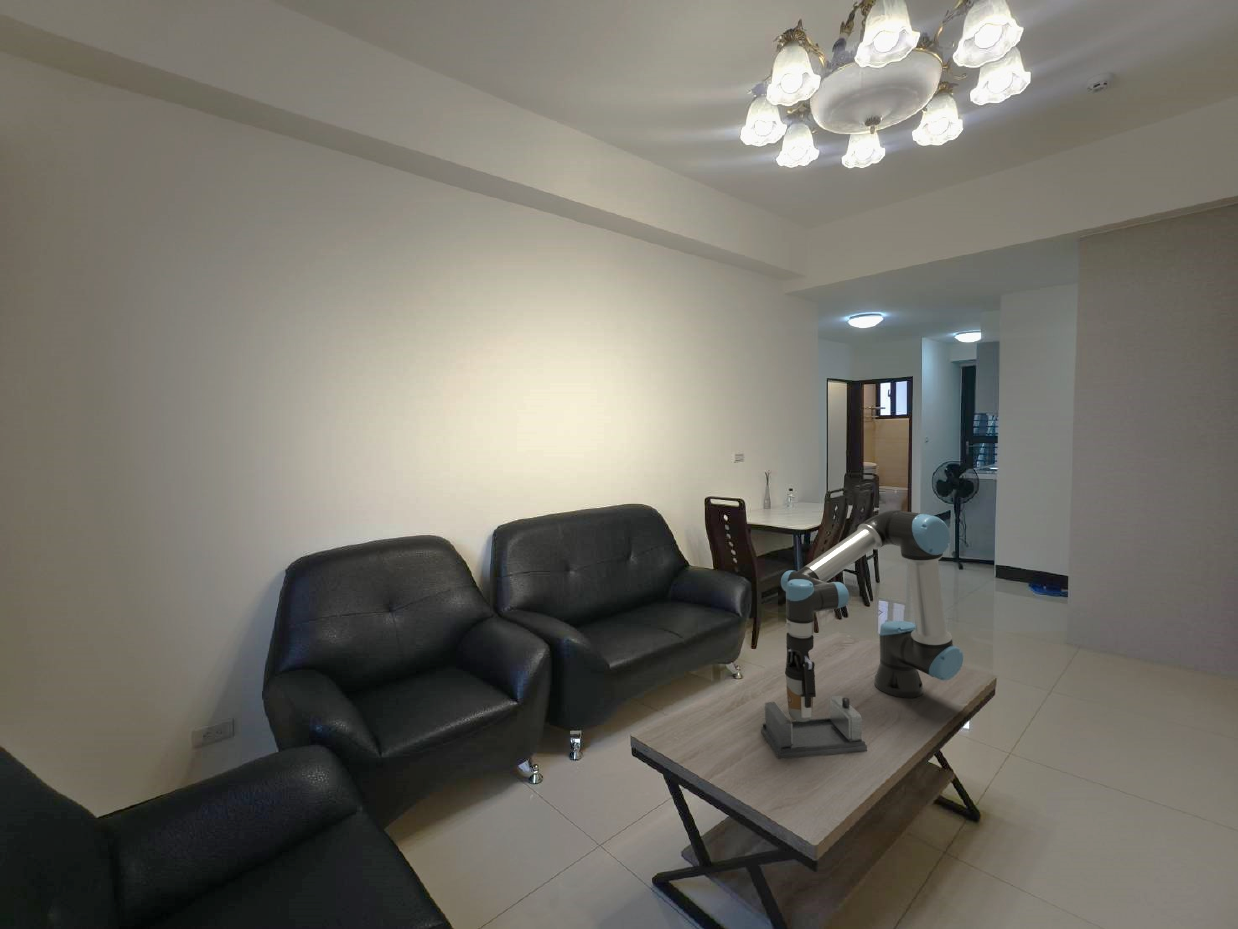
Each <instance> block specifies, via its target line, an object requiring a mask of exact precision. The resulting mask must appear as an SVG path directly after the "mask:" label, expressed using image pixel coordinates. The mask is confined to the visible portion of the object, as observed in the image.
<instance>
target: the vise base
mask: <svg viewBox="0 0 1238 929" xmlns="http://www.w3.org/2000/svg"><path fill="white" fill-rule="evenodd" d="M764 711H765V712H764V717H765V718H764V720H765V721H764V722H765V723H762V726H760V732H761V733H762V735H763V737H764V738H765V739H766V741H767V743H768V744H769V745H770V748H771V749H772V750H773V752H774V753H775V755H776V756H777V758H778V760H782V759H783V760H784V759H795V758H802V757H803V758H804V757H815V756H817V757H818V756H826V755H836V754H847V753H857V752H859V753H860V752H867V751H868V745H867V744H866V741H864V740H862V741H860V742H850V741H849V740H848V739H847V738H846V737H845V736H844V735H843V734H842V733H841V732H840V730H839V729H838V728H837V727H836V726H835V725H834V724H833V723H832V722H831V720H830V717H823V718H822V717H821V718H812V719H811V718H810V720H809V721H806V722H800V721H796V720H790V719H789V718H788V716H787V715H786V714H785V713H784V711H783V710H782V708H780V706H779V705H778V704H777V703H776V702H775V701H772V702H770V701H768V702H765V703H764Z"/></svg>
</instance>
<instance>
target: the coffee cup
mask: <svg viewBox="0 0 1238 929" xmlns="http://www.w3.org/2000/svg"><path fill="white" fill-rule="evenodd" d="M800 668H804V667H800ZM801 673H802V674H804V672H800V671H798V670H797V666H792V664H791V662H790V663H788V664H787V667H786V666H785V670H784V674H785V680H786V682H785V683H786V699H787V708H788V715H789V717H790V718H791V719H792V720H793V721H800V722H806V721H809V720H810V719H811V718H812V717H808V718H802V717H801V695H800V694H803V692H802V678H805V677H804V676H801ZM815 674H816V672H814V676H815V677H816V675H815ZM811 703H812V708H813V705H814V704H813V703H814V697H811Z"/></svg>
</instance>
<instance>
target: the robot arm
mask: <svg viewBox="0 0 1238 929" xmlns="http://www.w3.org/2000/svg"><path fill="white" fill-rule="evenodd" d="M856 529H857V530H855V531H854V532H853V533H851V534H850V535H848V536H847V537H846V538H844V539H843V540H841V541H840V542H838V543H837V544H836V545H834V546H833V547H831V548H830V549H828V550H827V551H824V553H822V554H821V555H819V556H818V557H816V558H815V559H814V560H812V561H810V563H808V564H807V565H805V566H804V567H802V568H801V569H799V570H798V571H797V570H787V571H785V572H784V573H783V574H782V575H781V579H780V586H781V589H782V590H783V591H784V592H785V607H786V608H785V609H786V610H785V611H786V614H785V615H786V616H785V617H786V623H785V625H784V626H785V627H786V635H785V636H786V641H785V642H786V662H785V668H786V667H787V664H788V663H790V662H791V664H792V666H797V670H798V671H800V672H804V674H802V673H801V676H804V677H805V678H802V692H803V694H800V695H801V717H802V718H808V717H811V718H812V717H813V716H812V714H813V707H812V703H811V697H813V698H816V696H817V694H816V681H815V678H816V675H815V676H814V673H815V667H816V666H815V661H811V660H810V654H809V652H810V651H811V650H813V649H814V647H815V646H814V644H815V643H814V642H815V640H814V638H815V637H814V636H815V635H814V631H815V630H814V628H815V620H814V617H815V616H814V614H815V613H817V612H818V613H819V612H822V611H828V610H829V611H830V610H838V609H841V608H844V607H846V606H847V605H848V604H849V601H850V593H849V590H848V588H847V587H846V585H845V584H844V583H842V582H840V581H831V582H828V581H830V580H831V579H832V578H834V577H835V576H837V575H838V574H840V573H841V572H842V571H844V570H845V569H847V568H848V567H850V565H852V564H854V563H855V562H856V561H857V560H859V559H861V558H862V557H863V556H865V555H867V554H868V553H869V552H870V551H872V550H879V549H881V548H882V547H884V546H888V545H894V546H898V547H900V555H901V557H902V559H904V560H905V561H906V562H907V569H908V578H909V585H910V594H911V595H910V596H911V603H912V611H913V612H912V613H913V620H914V622H910V621H907V620H904V621H903V620H890V621H885V622H883V623H881V625H880V630H879V665H878V668H877V670H876V672H875V675H874V686H875V687H876V688H877V689H878V690H879V691H881V692H883V693H884V694H887V695H890V696H895V697H898V698H917V697H920V696H921V695H922V694H923V693H924V685H923V681H922V679H921V675H920V672H922V673H924V674H927V675H928V676H930V677H931V678H935V679H937V680H940V681H949V680H951V679H953V678H954V677H955V676H957V675H958V673H959V672H960V670H961V668H962V666H963V662H964V653H963V651H962V650H961V649H960V648H959V647H958V646H955V645H954V644H953V643H954V642H953V636H952V634H951V632H950V631H948V630H946V629H947V628H946V620H945V612H944V602H943V601H944V600H943V594H942V584H941V576H940V575H941V574H940V567H939V560H941V559H942V557H943V556H944V553H945V552H946V551H947V550H948V548H949V544H950V543H951V533H950V529H949V526H948V525H947V524H946V523H945V521H943V520H942V519H941V518H940V517H939V516H934V515H931V514H929V513H919V512H912V511H905V510H899V509H891V510H886V511H883V512H881V513H879V514H876V515H874V516H872V517H870V518H868V519H866V520H864V521H863V522H862V523H860V524H859V525H858V526H857V528H856ZM800 667H804V668H800ZM919 671H920V672H919Z"/></svg>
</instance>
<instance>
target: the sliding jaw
mask: <svg viewBox="0 0 1238 929" xmlns="http://www.w3.org/2000/svg"><path fill="white" fill-rule="evenodd" d="M850 700H851V699H850V698H848V697H843V696H842V695H832V696H830V699H829V718H830V720H831V722H832V723H833V724H834V725H835V726H836V727H837V728H838V729H839V730H840V732H841V733H842V734H843V735H844V736H845V737H846V738H847V739H848V740H849V741H850V742H860V741H863V735H862V734H863V728H862V727H863V723H862V721H863V719H862V718H863V716H862V715H861V714H860V713H859V712H858V711H857V709H856V708H854V707H853V706H852V705H851V704H850Z"/></svg>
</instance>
